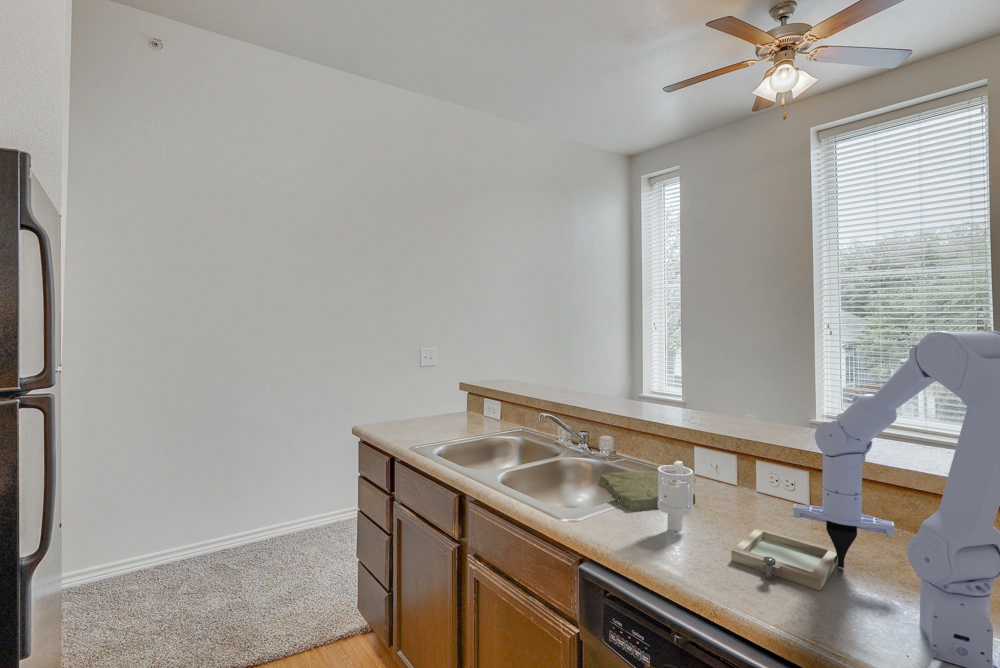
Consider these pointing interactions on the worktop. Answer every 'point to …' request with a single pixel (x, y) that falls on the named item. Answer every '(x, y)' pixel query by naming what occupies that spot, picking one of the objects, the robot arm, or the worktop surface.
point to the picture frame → (787, 557)
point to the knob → (769, 567)
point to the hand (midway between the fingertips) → (840, 565)
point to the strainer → (675, 494)
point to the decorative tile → (634, 488)
